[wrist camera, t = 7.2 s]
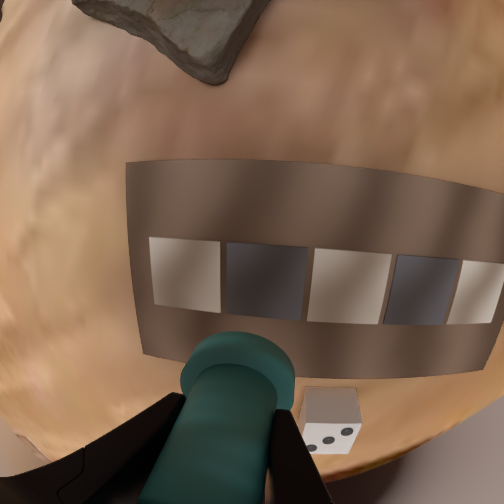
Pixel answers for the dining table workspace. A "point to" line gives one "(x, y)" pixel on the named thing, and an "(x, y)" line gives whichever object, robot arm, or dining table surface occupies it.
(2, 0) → the decorative dome
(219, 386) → the pawn
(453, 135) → the dining table surface
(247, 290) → the board
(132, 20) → the marble piece
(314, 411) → the die
